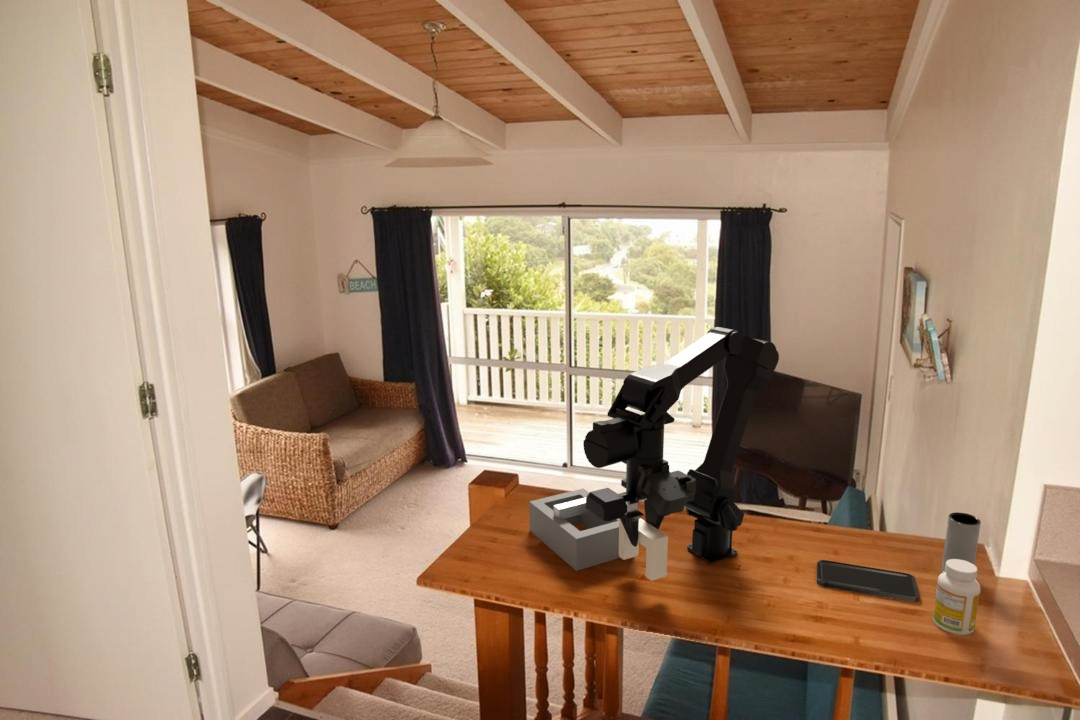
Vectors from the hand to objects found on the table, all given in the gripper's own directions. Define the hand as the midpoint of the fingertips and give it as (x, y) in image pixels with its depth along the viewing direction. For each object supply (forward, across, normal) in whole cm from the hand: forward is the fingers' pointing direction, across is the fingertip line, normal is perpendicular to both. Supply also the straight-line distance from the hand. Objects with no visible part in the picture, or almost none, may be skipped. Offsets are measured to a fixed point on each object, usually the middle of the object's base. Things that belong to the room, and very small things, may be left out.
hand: (642, 543), depth 114 cm
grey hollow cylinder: (+7, +47, -24) cm, 53 cm away
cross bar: (+1, -1, +17) cm, 17 cm away
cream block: (+4, 0, 0) cm, 4 cm away
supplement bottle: (+7, +33, -32) cm, 47 cm away
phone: (+8, +32, -18) cm, 38 cm away
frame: (+7, -1, +17) cm, 19 cm away
